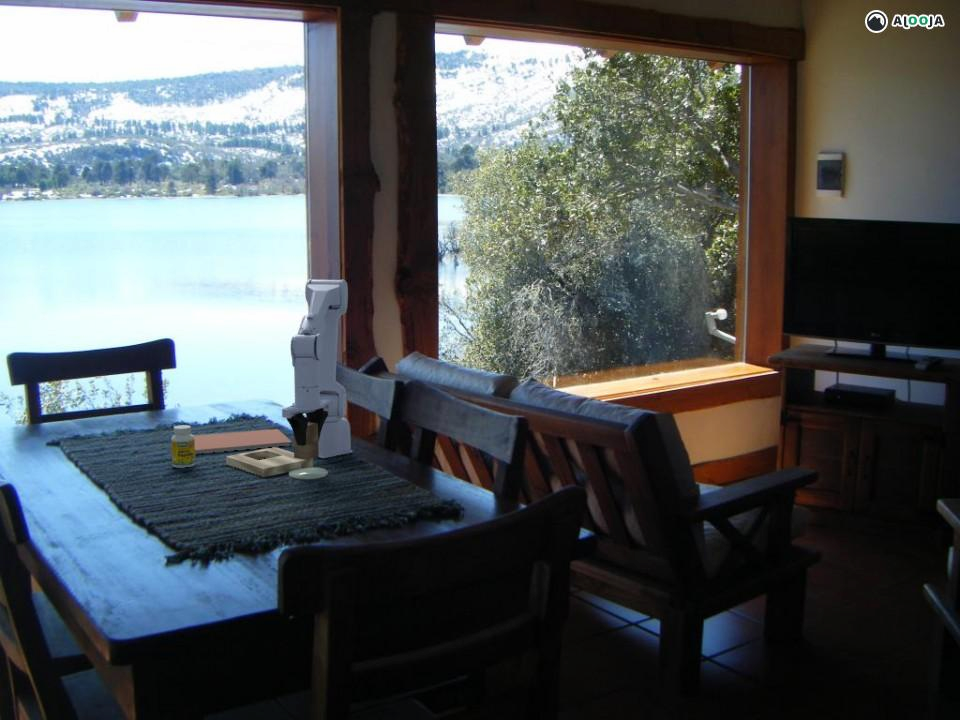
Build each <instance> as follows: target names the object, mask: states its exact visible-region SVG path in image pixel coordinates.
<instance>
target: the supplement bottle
mask: <svg viewBox="0 0 960 720" xmlns="http://www.w3.org/2000/svg"><path fill="white" fill-rule="evenodd" d="M173 433H174V435H172V437H171V460H172V467H173V468H176V469H186V468H185V467H189V468H191V467H194V466H195V465H196V454H195V440H194V436H193V435H194V434H192V427H191V425H187V424H182V425H181V424H180V425H175V426H173Z"/></svg>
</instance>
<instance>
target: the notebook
mask: <svg viewBox="0 0 960 720" xmlns="http://www.w3.org/2000/svg"><path fill="white" fill-rule="evenodd" d="M192 435H193V436H194V440H195V455H202V454H201V453H204V454H211V453H212V454H213V452H215V453H225V452H224V451H227V452H235V451H234V450H238V451H247V450H246V449H250V450H258V449H257V448H261V449H267V448H268V447H276V448H280V447H279V446H284V447H291V446H290V445H291V444H290V443H292V441H291V439H290V438H288V437H287V435H285V434H284V433H283V432H281V430H279V429H277V428H275V429H274V428H273V429H270V428H267V429H266V428H265V429H252V430H241V431H239V430H238V431H233V432H232V431H228V432H227V431H226V432H220V433H219V432H217V433H216V432H214V433H209V434H208V433H201V434H192ZM198 453H199V454H198Z"/></svg>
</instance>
